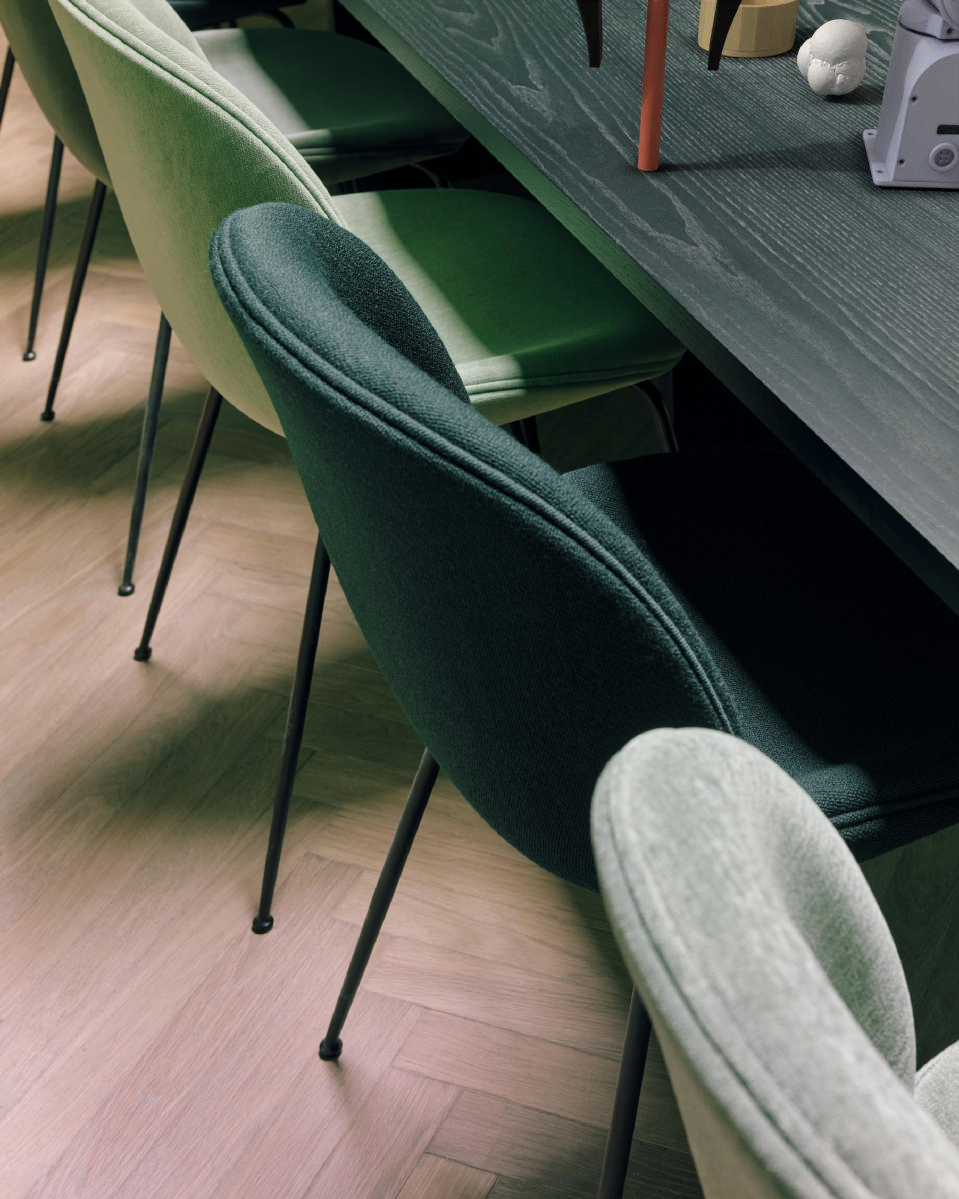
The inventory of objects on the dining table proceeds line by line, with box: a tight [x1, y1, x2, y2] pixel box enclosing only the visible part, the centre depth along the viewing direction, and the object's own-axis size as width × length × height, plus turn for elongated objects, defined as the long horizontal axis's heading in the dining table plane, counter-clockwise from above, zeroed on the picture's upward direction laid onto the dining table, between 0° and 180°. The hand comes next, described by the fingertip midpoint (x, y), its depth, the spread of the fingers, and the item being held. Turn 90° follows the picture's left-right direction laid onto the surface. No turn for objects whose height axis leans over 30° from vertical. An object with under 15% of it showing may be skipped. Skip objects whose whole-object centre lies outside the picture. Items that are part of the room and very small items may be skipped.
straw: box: [637, 0, 671, 172], centre depth 80 cm, size 1×1×11 cm
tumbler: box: [697, 0, 801, 58], centre depth 103 cm, size 8×8×4 cm
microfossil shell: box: [796, 18, 868, 96], centre depth 92 cm, size 4×5×6 cm
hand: (653, 64), depth 79 cm, fingers open, 7 cm apart
